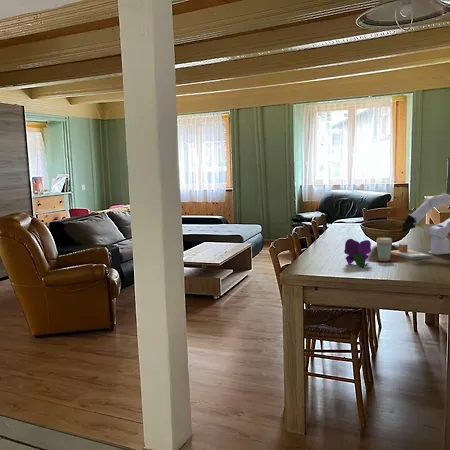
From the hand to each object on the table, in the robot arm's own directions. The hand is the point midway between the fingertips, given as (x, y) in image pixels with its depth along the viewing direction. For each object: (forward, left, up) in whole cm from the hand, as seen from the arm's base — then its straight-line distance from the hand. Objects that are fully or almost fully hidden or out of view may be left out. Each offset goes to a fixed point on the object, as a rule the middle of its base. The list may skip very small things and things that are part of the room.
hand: (403, 229), depth 265 cm
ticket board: (-2, +7, -15) cm, 17 cm away
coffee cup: (+17, +7, -15) cm, 24 cm away
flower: (+37, +16, -15) cm, 43 cm away
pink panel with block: (-2, -3, -15) cm, 15 cm away
